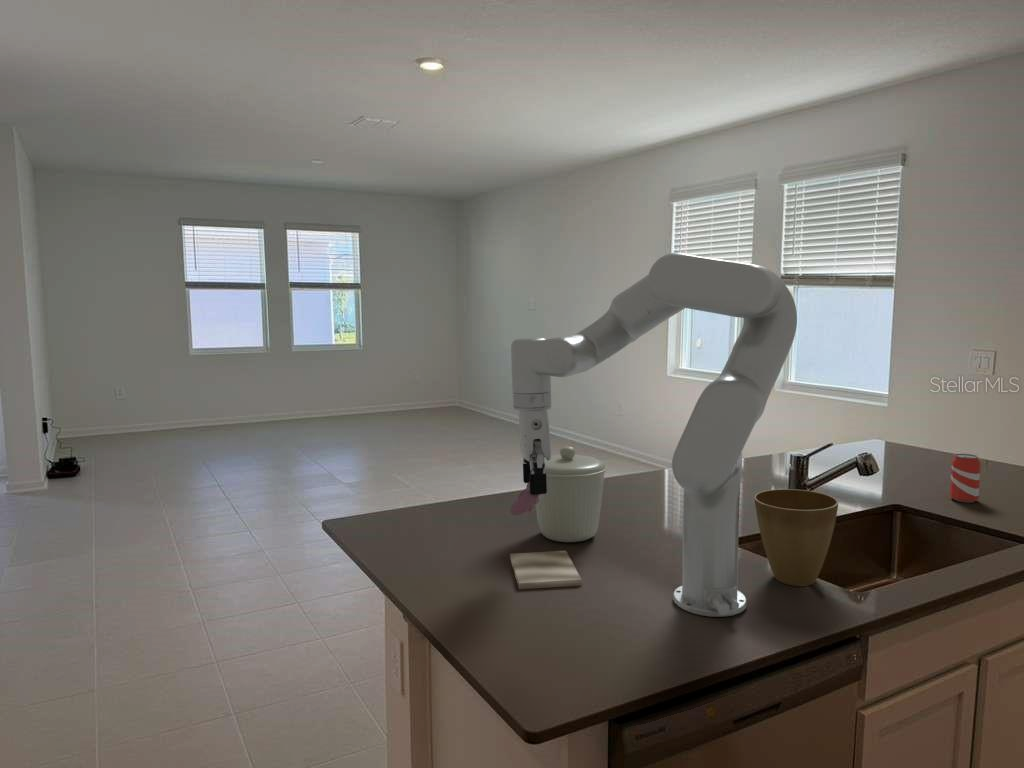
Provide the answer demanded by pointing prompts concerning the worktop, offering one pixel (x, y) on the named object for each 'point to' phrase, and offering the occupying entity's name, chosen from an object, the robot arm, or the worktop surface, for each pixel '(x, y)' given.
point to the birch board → (544, 570)
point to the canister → (571, 497)
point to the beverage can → (965, 478)
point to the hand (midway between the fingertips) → (534, 487)
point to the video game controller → (524, 502)
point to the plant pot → (796, 532)
